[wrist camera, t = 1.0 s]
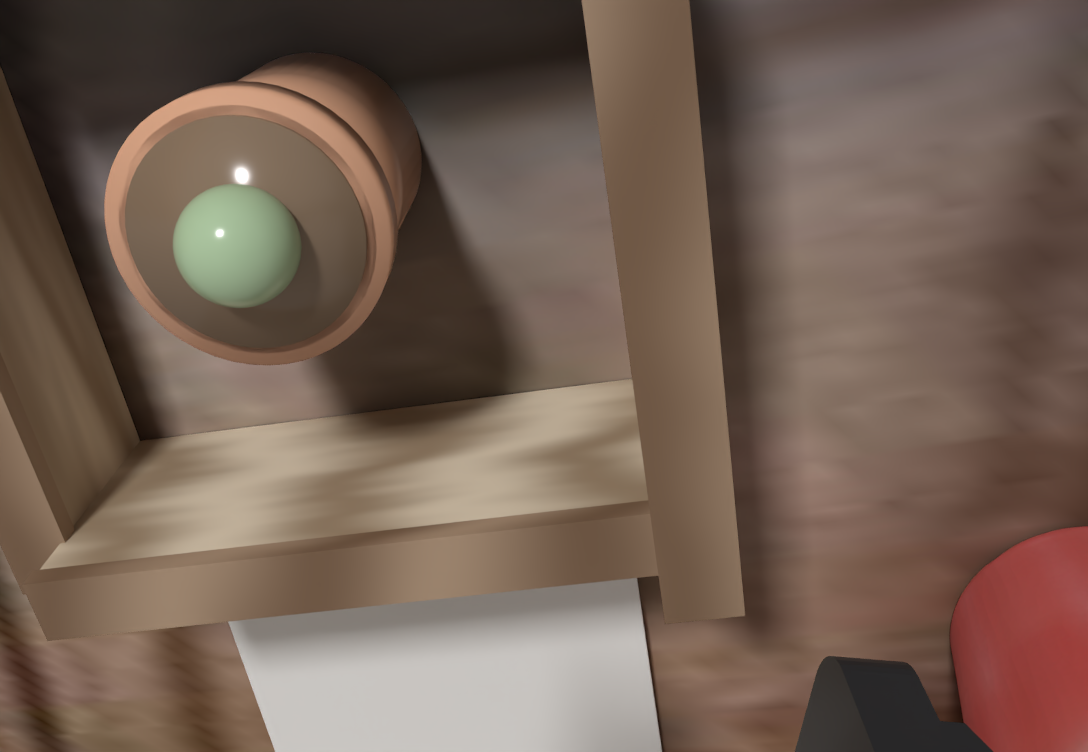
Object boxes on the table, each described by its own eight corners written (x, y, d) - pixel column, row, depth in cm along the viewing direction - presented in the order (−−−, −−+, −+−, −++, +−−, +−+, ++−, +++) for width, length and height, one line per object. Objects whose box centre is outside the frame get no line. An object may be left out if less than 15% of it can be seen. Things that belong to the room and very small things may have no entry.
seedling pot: (406, 23, 27) (330, 86, 19) (452, 246, 30) (403, 386, 22) (180, 60, 28) (14, 136, 20) (245, 275, 30) (122, 421, 22)
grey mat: (624, 493, 33) (625, 501, 33) (669, 804, 39) (670, 815, 39) (207, 540, 34) (202, 549, 34) (312, 835, 40) (309, 846, 40)
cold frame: (625, -320, 24) (649, -433, 15) (701, 418, 32) (745, 621, 23) (-154, -170, 25) (-533, -193, 17) (108, 490, 34) (-55, 702, 25)
